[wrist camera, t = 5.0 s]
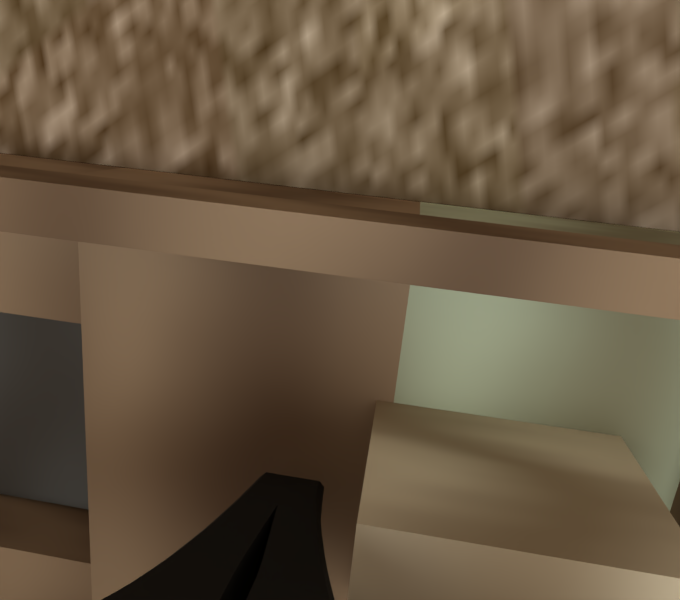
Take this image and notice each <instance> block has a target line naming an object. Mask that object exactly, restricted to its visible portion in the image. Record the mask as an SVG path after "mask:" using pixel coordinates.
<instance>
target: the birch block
mask: <svg viewBox="0 0 680 600" xmlns="http://www.w3.org/2000/svg"><path fill="white" fill-rule="evenodd" d="M347 600H680V527H679V525H678V524H677V522H676V521H675V519H674V518H673V516H672V514H671V513H670V511H669V510H668V508H667V507H666V505H665V504H664V502H663V501H662V499H661V497H660V496H659V494H658V493H657V491H656V490H655V488H654V487H653V485H652V484H651V482H650V481H649V479H648V477H647V476H646V474H645V473H644V471H643V470H642V468H641V467H640V465H639V464H638V462H637V460H636V459H635V457H634V456H633V454H632V453H631V451H630V450H629V448H628V447H627V445H626V443H625V442H624V440H623V439H622V437H621V436H615V435H609V434H602V433H595V432H588V431H582V430H575V429H568V428H561V427H555V426H548V425H541V424H534V423H528V422H521V421H514V420H507V419H501V418H494V417H487V416H480V415H473V414H467V413H460V412H453V411H446V410H440V409H433V408H426V407H419V406H413V405H406V404H399V403H392V402H386V401H379V400H377V402H376V408H375V414H374V420H373V426H372V433H371V439H370V445H369V451H368V457H367V463H366V469H365V475H364V482H363V488H362V494H361V500H360V506H359V512H358V518H357V525H356V533H355V541H354V549H353V557H352V565H351V573H350V582H349V590H348V598H347Z"/></svg>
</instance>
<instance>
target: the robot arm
mask: <svg viewBox="0 0 680 600" xmlns="http://www.w3.org/2000/svg"><path fill="white" fill-rule="evenodd" d="M323 493H324V486H323V485H322V484H321V482H320V481H316V480H310V479H304V478H298V477H292V476H286V475H280V474H274V473H268V472H266V473H264V474H263V475H261V476H260V477H259V478H258V479H257V480H256V481H255V482H254V483H253V484H252V485H251V486H250V487H249V488H248V489H247V490H246V491H245V492H244V493H243V494H242V495H241V496H240V497H239V498H238V499H237V500H236V501H235V502H234V503H233V504H232V505H231V506H230V507H229V508H228V509H226V510H225V511H224V512H223V513H222V514H221V515H220V516H218V517H217V518H216V519H215V520H214V521H213V522H212V523H211V524H209V525H208V526H207V527H206V528H205V529H204V530H202V531H201V532H200V533H199V534H198V535H196V536H195V537H194V538H192V539H191V540H190V541H189V542H187V543H186V544H185V545H184V546H182V547H181V548H180V549H179V550H177V551H176V552H175V553H173V554H172V555H171V556H169V557H168V558H167V559H165V560H164V561H162V562H161V563H160V564H158V565H157V566H155V567H154V568H152V569H151V570H150V571H148V572H147V573H145V574H143V575H142V576H140V577H139V578H137V579H136V580H134V581H133V582H131V583H130V584H128V585H126V586H125V587H123V588H121V589H120V590H118V591H116V592H114V593H112V594H111V595H109V596H107V597H105V598H103V599H102V600H335V599H334V596H333V592H332V588H331V583H330V579H329V574H328V570H327V565H326V559H325V553H324V546H323V538H322V530H321V512H322V502H323Z"/></svg>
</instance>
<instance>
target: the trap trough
mask: <svg viewBox="0 0 680 600" xmlns="http://www.w3.org/2000/svg"><path fill="white" fill-rule="evenodd" d="M377 400H379V401H386V402H392V403H399V404H406V405H413V406H419V407H426V408H433V409H440V410H446V411H453V412H460V413H467V414H473V415H480V416H487V417H494V418H501V419H507V420H514V421H521V422H528V423H534V424H541V425H548V426H555V427H561V428H568V429H575V430H582V431H588V432H595V433H602V434H609V435H615V436H621V437H622V439H623V440H624V442H625V443H626V445H627V447H628V448H629V450H630V451H631V453H632V454H633V456H634V457H635V459H636V460H637V462H638V464H639V465H640V467H641V468H642V470H643V471H644V473H645V474H646V476H647V477H648V479H649V481H650V482H651V484H652V485H653V487H654V488H655V490H656V491H657V493H658V494H659V496H660V497H661V499H662V501H663V502H664V504H665V505H666V507H667V508H668V510H669V511H670V513H671V514H672V516H673V518H674V519H675V521H676V522H677V524H678V525H679V527H680V232H677V231H668V230H659V229H651V228H642V227H633V226H625V225H616V224H608V223H599V222H590V221H582V220H573V219H564V218H556V217H547V216H538V215H530V214H521V213H512V212H504V211H495V210H487V209H478V208H469V207H461V206H452V205H443V204H435V203H426V202H417V201H409V200H400V199H391V198H383V197H374V196H366V195H357V194H348V193H340V192H331V191H322V190H314V189H305V188H296V187H288V186H279V185H270V184H262V183H253V182H245V181H236V180H227V179H219V178H210V177H201V176H193V175H184V174H175V173H167V172H158V171H149V170H141V169H132V168H124V167H115V166H106V165H98V164H89V163H80V162H72V161H63V160H54V159H46V158H37V157H28V156H20V155H11V154H3V153H0V600H102V599H103V598H105V597H107V596H109V595H111V594H112V593H114V592H116V591H118V590H120V589H121V588H123V587H125V586H126V585H128V584H130V583H131V582H133V581H134V580H136V579H137V578H139V577H140V576H142V575H143V574H145V573H147V572H148V571H150V570H151V569H152V568H154V567H155V566H157V565H158V564H160V563H161V562H162V561H164V560H165V559H167V558H168V557H169V556H171V555H172V554H173V553H175V552H176V551H177V550H179V549H180V548H181V547H182V546H184V545H185V544H186V543H187V542H189V541H190V540H191V539H192V538H194V537H195V536H196V535H198V534H199V533H200V532H201V531H202V530H204V529H205V528H206V527H207V526H208V525H209V524H211V523H212V522H213V521H214V520H215V519H216V518H217V517H218V516H220V515H221V514H222V513H223V512H224V511H225V510H226V509H228V508H229V507H230V506H231V505H232V504H233V503H234V502H235V501H236V500H237V499H238V498H239V497H240V496H241V495H242V494H243V493H244V492H245V491H246V490H247V489H248V488H249V487H250V486H251V485H252V484H253V483H254V482H255V481H256V480H257V479H258V478H259V477H260V476H261V475H263V474H264V473H266V472H268V473H274V474H280V475H286V476H292V477H298V478H304V479H310V480H316V481H320V482H321V484H322V485H323V486H324V493H323V502H322V512H321V530H322V538H323V546H324V553H325V559H326V565H327V570H328V574H329V579H330V583H331V588H332V592H333V596H334V599H335V600H347V598H348V590H349V582H350V573H351V565H352V557H353V549H354V541H355V533H356V525H357V518H358V512H359V506H360V500H361V494H362V488H363V482H364V475H365V469H366V463H367V457H368V451H369V445H370V439H371V433H372V426H373V420H374V414H375V408H376V402H377Z"/></svg>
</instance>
